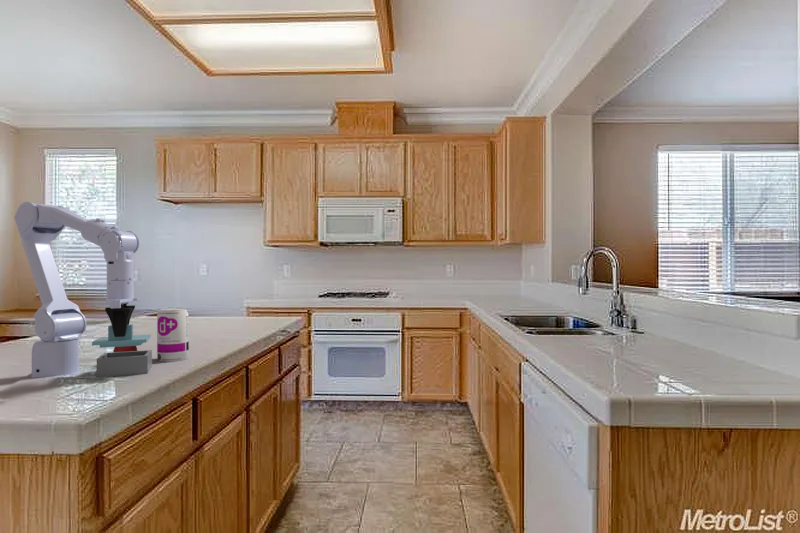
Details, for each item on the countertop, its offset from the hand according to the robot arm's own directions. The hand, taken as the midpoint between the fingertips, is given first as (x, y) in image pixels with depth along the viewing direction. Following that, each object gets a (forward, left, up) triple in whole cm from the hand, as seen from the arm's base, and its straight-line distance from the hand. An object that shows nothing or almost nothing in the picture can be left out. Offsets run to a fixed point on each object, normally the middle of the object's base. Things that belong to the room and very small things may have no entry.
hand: (120, 335), depth 118 cm
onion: (-2, +19, -11) cm, 22 cm away
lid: (0, +3, -2) cm, 3 cm away
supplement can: (+10, +20, -11) cm, 25 cm away
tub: (0, +6, -10) cm, 12 cm away
